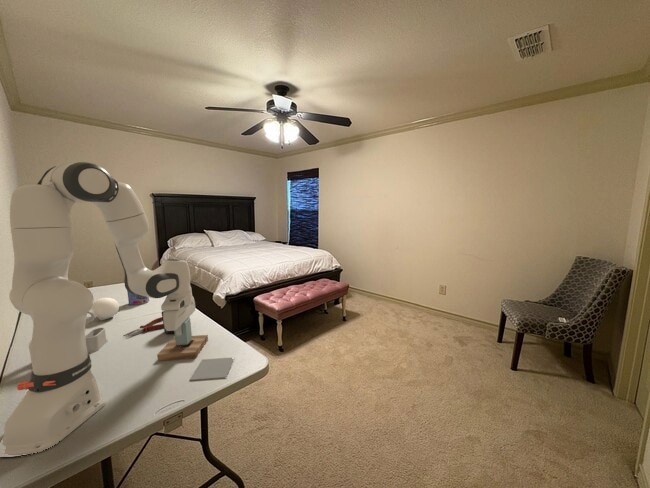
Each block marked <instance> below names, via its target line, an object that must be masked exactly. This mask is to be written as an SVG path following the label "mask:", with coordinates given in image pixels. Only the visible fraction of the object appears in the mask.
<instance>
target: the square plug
mask: <svg viewBox="0 0 650 488" xmlns="http://www.w3.org/2000/svg"><path fill="white" fill-rule="evenodd" d="M191 325H192V323H191V317H190V318H187V319H186V320H185V321H184V322H183V323H182V324H181V329H183V333H182V334H181V335H177V334H176V331H174V332H175V334H174V337H175V342H176V345H184V344H188V343H189V342H190V341H191V339H192V336H193V335H192V334H193V333H192V326H191Z"/></svg>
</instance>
